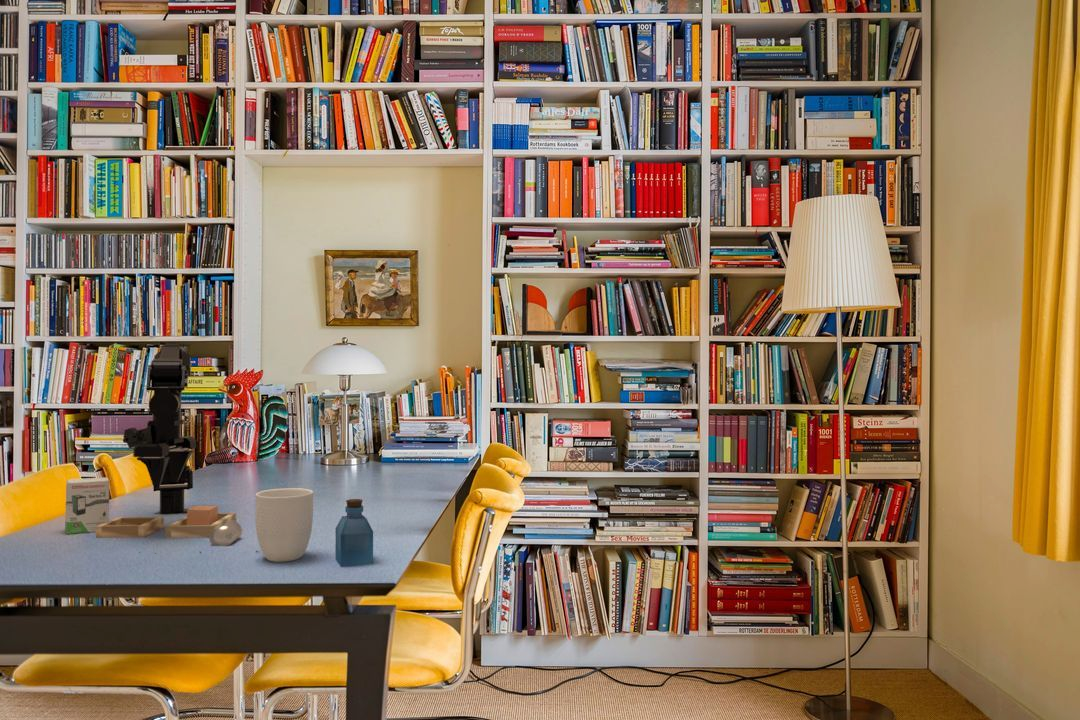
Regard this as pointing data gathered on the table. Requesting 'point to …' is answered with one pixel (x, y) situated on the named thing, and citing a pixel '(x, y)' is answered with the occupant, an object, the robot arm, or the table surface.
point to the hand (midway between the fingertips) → (165, 484)
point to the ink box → (86, 504)
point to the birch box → (196, 527)
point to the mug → (284, 522)
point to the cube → (202, 515)
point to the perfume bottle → (354, 537)
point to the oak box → (129, 527)
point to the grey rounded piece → (226, 534)
